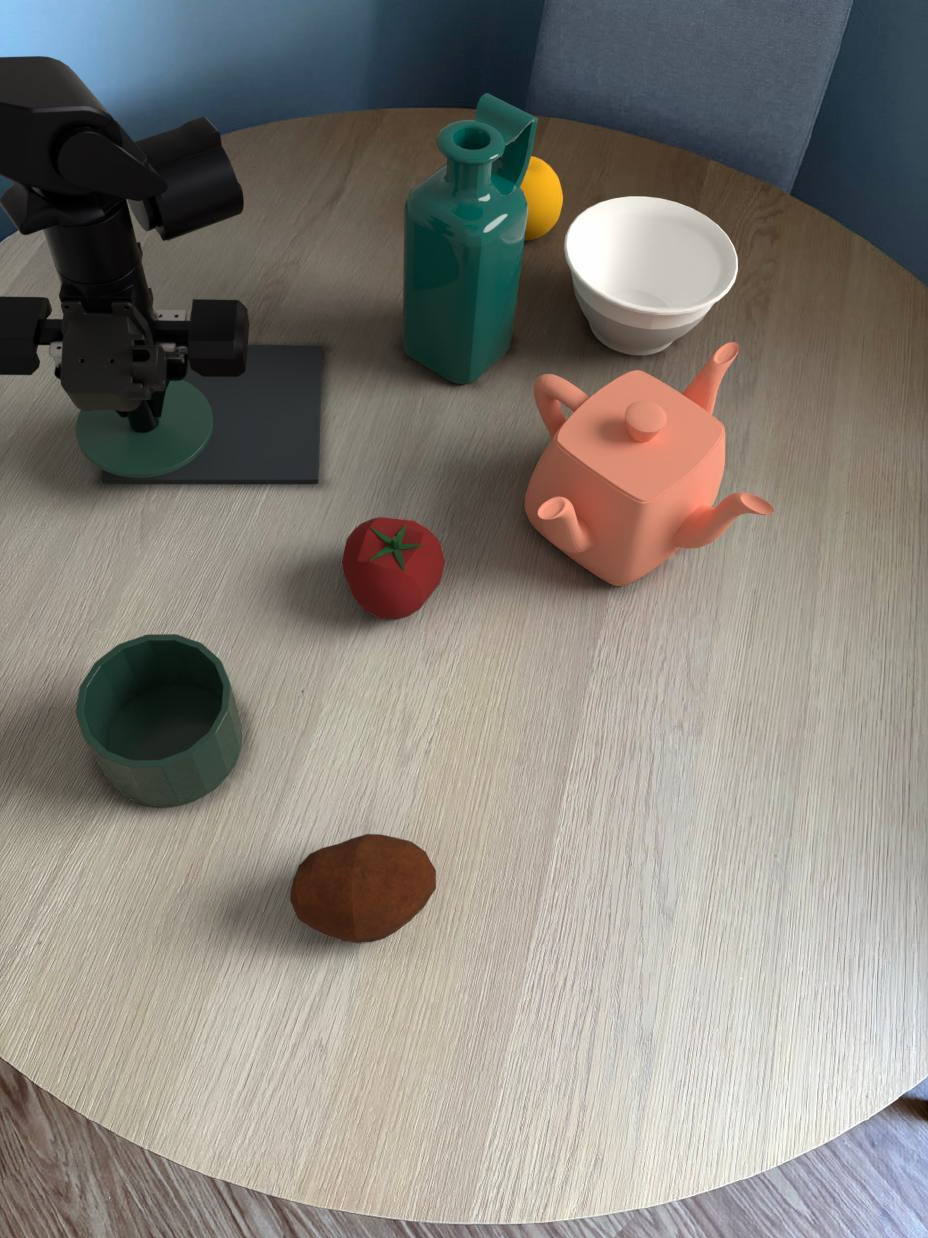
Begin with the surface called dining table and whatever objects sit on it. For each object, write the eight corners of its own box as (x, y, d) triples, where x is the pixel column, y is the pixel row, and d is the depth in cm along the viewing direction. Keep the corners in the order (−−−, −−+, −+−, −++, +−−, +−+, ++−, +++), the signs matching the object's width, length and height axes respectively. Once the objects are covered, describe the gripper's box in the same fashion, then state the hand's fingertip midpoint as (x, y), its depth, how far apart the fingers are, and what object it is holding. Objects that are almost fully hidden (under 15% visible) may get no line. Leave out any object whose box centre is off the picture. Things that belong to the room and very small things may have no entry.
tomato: (453, 566, 86) (458, 512, 80) (421, 646, 82) (424, 595, 76) (361, 539, 87) (359, 483, 81) (325, 616, 83) (320, 564, 77)
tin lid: (69, 482, 84) (50, 435, 79) (88, 382, 90) (71, 332, 85) (209, 482, 85) (198, 436, 80) (218, 383, 91) (209, 334, 86)
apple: (568, 247, 108) (579, 183, 101) (494, 257, 106) (501, 192, 100) (544, 198, 112) (554, 133, 105) (473, 207, 110) (478, 142, 104)
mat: (102, 483, 88) (101, 479, 88) (125, 347, 97) (124, 342, 96) (318, 483, 90) (318, 479, 89) (322, 349, 98) (322, 344, 97)
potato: (304, 845, 73) (297, 810, 67) (437, 855, 73) (441, 822, 68) (289, 947, 69) (280, 919, 64) (430, 957, 69) (433, 931, 64)
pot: (732, 609, 85) (781, 516, 75) (520, 604, 84) (540, 509, 74) (702, 436, 95) (741, 332, 85) (511, 430, 94) (527, 324, 83)
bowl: (705, 273, 107) (728, 200, 100) (722, 387, 98) (749, 317, 91) (550, 263, 106) (561, 189, 99) (553, 377, 98) (566, 306, 91)
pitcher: (465, 393, 96) (483, 183, 77) (393, 350, 98) (394, 135, 80) (526, 336, 100) (557, 123, 82) (456, 296, 103) (471, 80, 84)
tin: (92, 809, 73) (66, 768, 67) (110, 682, 78) (87, 634, 73) (237, 805, 74) (224, 765, 68) (245, 680, 79) (234, 633, 73)
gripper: (-69, 338, 67) (6, 491, 81) (226, 341, 69) (252, 491, 82) (-35, 224, 73) (30, 385, 86) (237, 229, 75) (259, 386, 88)
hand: (141, 413), depth 85 cm, fingers closed on tin lid, 2 cm apart
